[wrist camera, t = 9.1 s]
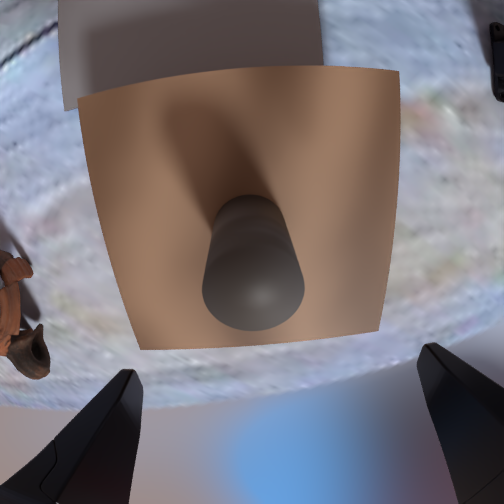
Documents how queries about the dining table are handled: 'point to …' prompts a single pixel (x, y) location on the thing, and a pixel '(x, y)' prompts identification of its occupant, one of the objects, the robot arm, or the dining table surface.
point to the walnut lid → (247, 201)
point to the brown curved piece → (8, 323)
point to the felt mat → (178, 39)
